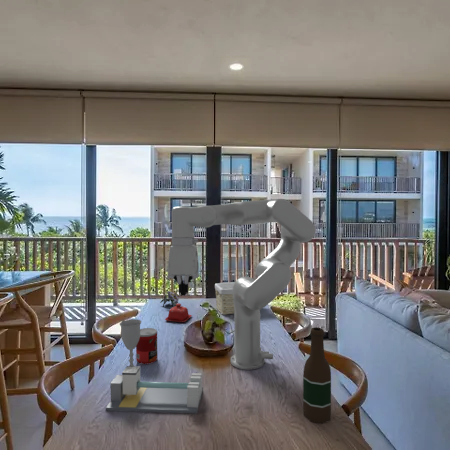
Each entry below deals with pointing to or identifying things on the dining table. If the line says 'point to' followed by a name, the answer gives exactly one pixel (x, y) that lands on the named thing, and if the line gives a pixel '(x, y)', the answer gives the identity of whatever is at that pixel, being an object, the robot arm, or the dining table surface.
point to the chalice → (130, 335)
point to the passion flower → (170, 298)
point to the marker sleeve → (131, 380)
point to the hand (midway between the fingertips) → (183, 294)
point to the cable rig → (158, 396)
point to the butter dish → (178, 314)
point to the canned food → (147, 346)
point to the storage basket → (225, 297)
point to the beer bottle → (317, 381)
